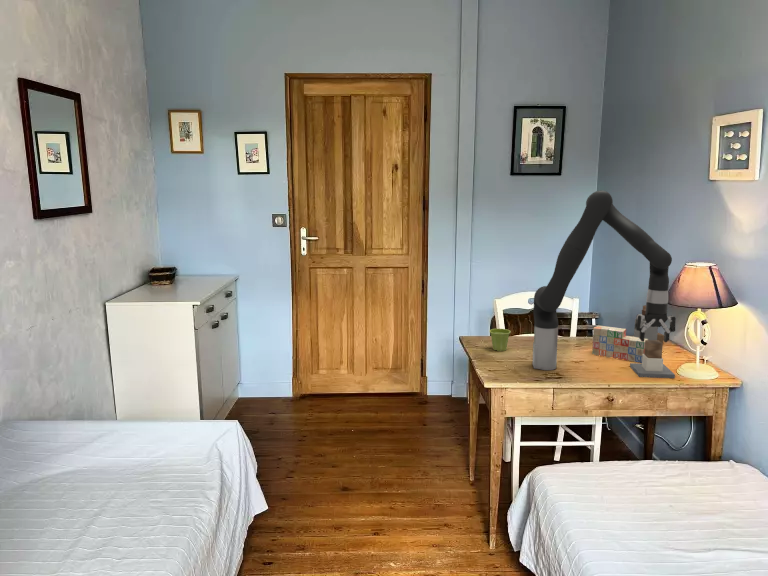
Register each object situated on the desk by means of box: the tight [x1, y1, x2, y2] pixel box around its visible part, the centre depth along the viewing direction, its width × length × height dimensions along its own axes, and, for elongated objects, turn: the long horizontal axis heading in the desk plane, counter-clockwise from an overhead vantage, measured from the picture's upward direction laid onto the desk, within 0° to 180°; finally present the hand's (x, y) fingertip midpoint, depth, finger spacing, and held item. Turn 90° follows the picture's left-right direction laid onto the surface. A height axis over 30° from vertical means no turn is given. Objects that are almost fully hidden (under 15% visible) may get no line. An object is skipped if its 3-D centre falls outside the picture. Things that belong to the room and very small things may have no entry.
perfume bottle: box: [633, 309, 659, 340], centre depth 256 cm, size 7×7×18 cm
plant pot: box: [489, 328, 511, 352], centre depth 259 cm, size 9×9×9 cm
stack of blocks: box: [591, 325, 648, 364], centre depth 245 cm, size 21×6×12 cm, turn 51°
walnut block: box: [644, 340, 664, 359], centre depth 224 cm, size 5×5×6 cm
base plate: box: [629, 354, 676, 379], centre depth 225 cm, size 13×13×6 cm
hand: (653, 341), depth 223 cm, fingers open, 8 cm apart
